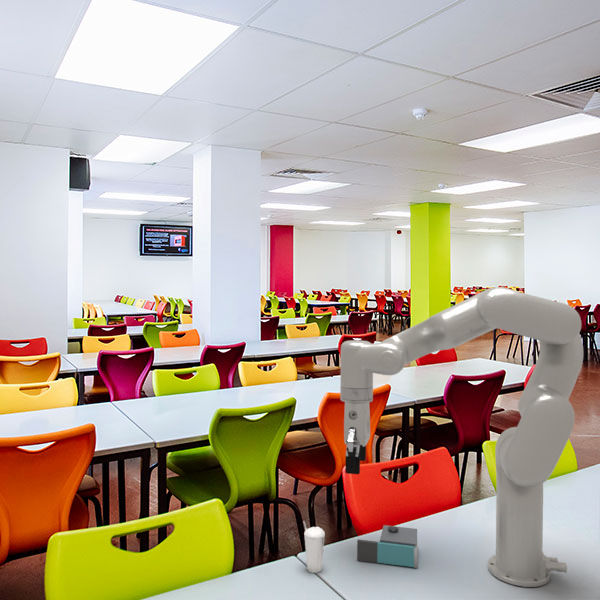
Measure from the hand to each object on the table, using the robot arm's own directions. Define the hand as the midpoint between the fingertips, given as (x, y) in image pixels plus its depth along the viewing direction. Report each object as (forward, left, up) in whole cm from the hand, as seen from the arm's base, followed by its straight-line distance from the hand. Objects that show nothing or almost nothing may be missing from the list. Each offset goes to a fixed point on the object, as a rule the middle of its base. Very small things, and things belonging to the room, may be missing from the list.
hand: (356, 466), depth 128 cm
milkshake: (+8, +9, -21) cm, 24 cm away
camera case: (-10, -2, -21) cm, 23 cm away
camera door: (-8, +3, -20) cm, 22 cm away
